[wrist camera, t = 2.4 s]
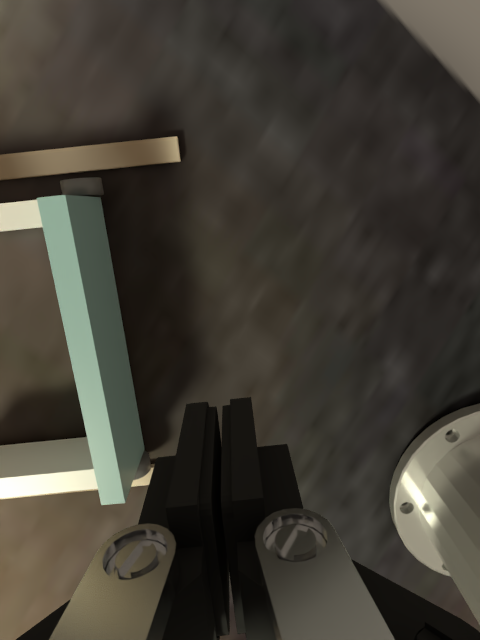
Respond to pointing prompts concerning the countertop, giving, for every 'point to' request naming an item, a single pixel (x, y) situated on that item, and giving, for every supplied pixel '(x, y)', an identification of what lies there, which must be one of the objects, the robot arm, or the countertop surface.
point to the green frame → (81, 355)
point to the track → (90, 161)
